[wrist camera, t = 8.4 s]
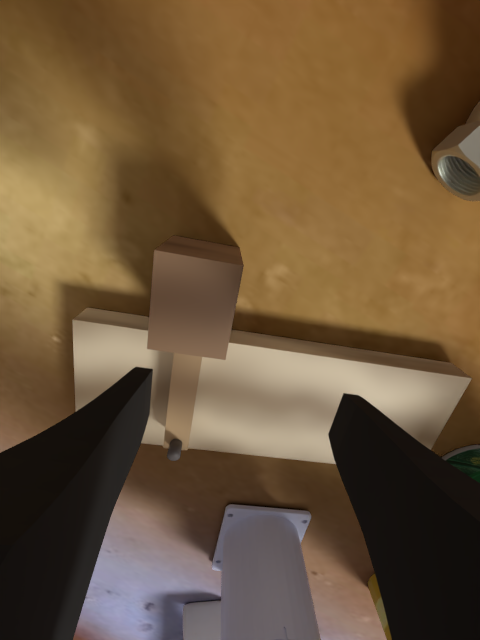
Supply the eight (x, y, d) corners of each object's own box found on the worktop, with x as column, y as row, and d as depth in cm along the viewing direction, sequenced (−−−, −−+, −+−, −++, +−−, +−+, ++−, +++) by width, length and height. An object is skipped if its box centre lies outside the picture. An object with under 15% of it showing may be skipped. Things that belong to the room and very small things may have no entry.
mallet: (208, 415, 23) (204, 470, 18) (156, 408, 23) (138, 464, 18) (239, 247, 18) (243, 265, 13) (173, 235, 18) (154, 249, 13)
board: (403, 452, 25) (417, 472, 24) (88, 416, 23) (76, 436, 21) (451, 362, 22) (471, 378, 20) (87, 307, 19) (72, 319, 17)
